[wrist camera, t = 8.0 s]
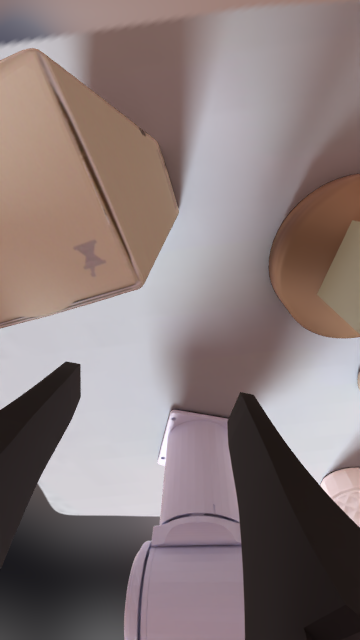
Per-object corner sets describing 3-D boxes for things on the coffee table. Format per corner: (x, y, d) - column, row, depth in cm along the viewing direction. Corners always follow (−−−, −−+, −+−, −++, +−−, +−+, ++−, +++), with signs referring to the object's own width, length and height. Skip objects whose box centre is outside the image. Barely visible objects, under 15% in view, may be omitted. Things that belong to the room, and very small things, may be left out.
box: (158, 138, 15) (51, 11, 4) (180, 215, 17) (157, 289, 6) (79, 169, 16) (-202, 148, 4) (109, 238, 18) (-32, 342, 7)
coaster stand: (368, 327, 20) (393, 349, 18) (249, 304, 20) (258, 323, 17) (459, 192, 15) (513, 195, 13) (305, 156, 15) (329, 151, 12)
